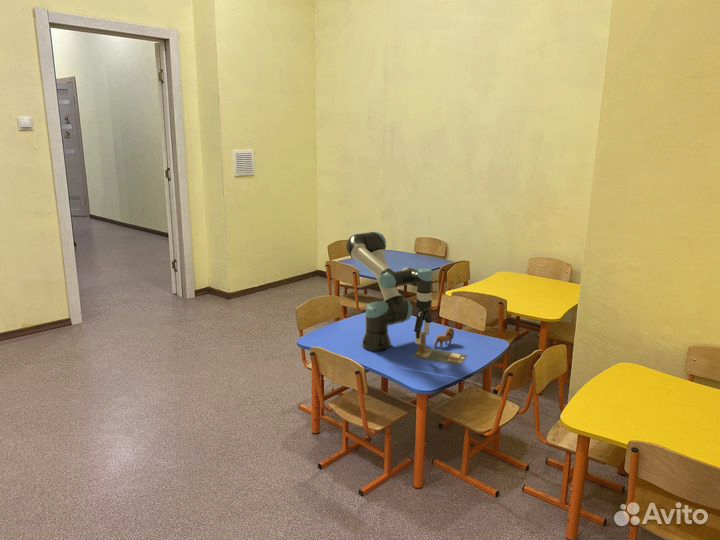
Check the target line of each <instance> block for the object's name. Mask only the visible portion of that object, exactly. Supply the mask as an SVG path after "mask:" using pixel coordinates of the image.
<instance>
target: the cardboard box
mask: <svg viewBox="0 0 720 540" xmlns="http://www.w3.org/2000/svg"><path fill="white" fill-rule="evenodd" d="M426 339H427V335H426V333H425V332H424V331H421V344H417V351H418V352H417V351H416V352H417V354H416V356H421V357H428V356H429V355H430V354H431V353H432V351H433V350H431V349H432V348H428V349H426V348H427V347H426V346H427V344H426V343H427V340H426Z"/></svg>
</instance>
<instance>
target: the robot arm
mask: <svg viewBox="0 0 720 540" xmlns="http://www.w3.org/2000/svg"><path fill="white" fill-rule="evenodd" d="M345 247H346V248H345V249H346V251H347V253H348V255H349V256H350V258H352V259H353V260H356V261H358V262H359V263H361V265H363V266H364V267H366V269H368V270H369V271H370V272H371V273H372V274H373V275H375V276H374V277H375V279H376V281H377V284H378V285H379V288H380V292H381V294H382V297H383V301H381V300H380V301H378V300H377V301H373V302H372V301H371V302H370V303H369V304H367V306H366V308H365V334H364V336H363V339H362V345H361V346H362V348H363V349H365V350H367V351H371V352H385V351H387V350H389V349H390V348H391V345H392V342H391V337H390V336H389V330H388V329H389V326H391V325H392V326H393V325H397V324H402V323H404V322H407V321H409V320H411V317H412V315H413V314H412V313H413V305H412V303H411V302H410V300H408V299H406V298H404V295H403V294H402V293H399V290H398V287H402V286H408V285H414V286H416V301H415V302H416V304H415V306H416V308H418V309H419V311H417V312H416V320H415V325H414V330H413V332H414V333H415V341H414V344H416V345H418V344H421V332H422V329H423V332H425V333H426V336H430V330H431V329H430V326H431V325H430V324H431V323H432V313H431V308H432V297H433V295H434V294H433V280H434V276H433V275H434V274H433V270H432V269H431V268H425V267H424V268H419V269H418V270H417V269H415V268H412V267H404V268H403V269H401V270H398V271H394V270H393V269H392V268H390V266H389V265H388V262H387V259H386V257H385V253H386V248H387V241H386V238H385V236H384V234H383V233H381V232H379V231H370V232H361V233H356V234H352V235H351V236H350V237H349V238H348V239H347V241H346V245H345ZM423 323H424V324H423ZM423 325H424V326H423ZM422 327H423V328H422Z"/></svg>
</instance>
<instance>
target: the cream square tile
mask: <svg viewBox="0 0 720 540" xmlns="http://www.w3.org/2000/svg"><path fill="white" fill-rule="evenodd" d="M455 353H456V352H451V354H450V356H449V360H453V361H459V360H460V359H461V354H462V353H457V354H455Z"/></svg>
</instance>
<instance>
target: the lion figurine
mask: <svg viewBox="0 0 720 540" xmlns="http://www.w3.org/2000/svg"><path fill="white" fill-rule="evenodd" d="M454 337H455V330H454V329H453V327H448V328H447V329H446V333H445V334H444V335H441V334H440V335H438V336H437V337H436V340H435V342H434V345H433V347H434V350H437V347H438V346H437V345H438V343H439V344H440V345H439V347H440V348H441V349H442V348H444V346H443V343H444V344H445V345H447V344H448V345H449V346H451V345H452V340H453V339H454Z"/></svg>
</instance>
